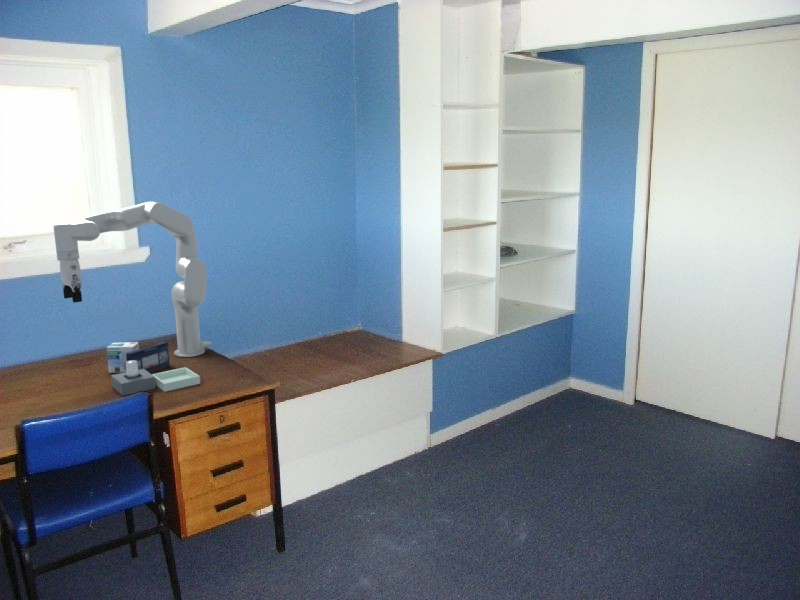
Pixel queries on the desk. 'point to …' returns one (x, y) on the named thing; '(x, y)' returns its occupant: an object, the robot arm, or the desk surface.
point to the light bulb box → (119, 355)
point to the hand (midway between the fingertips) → (73, 299)
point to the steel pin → (132, 369)
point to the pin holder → (133, 382)
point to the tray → (176, 379)
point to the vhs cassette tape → (151, 357)
